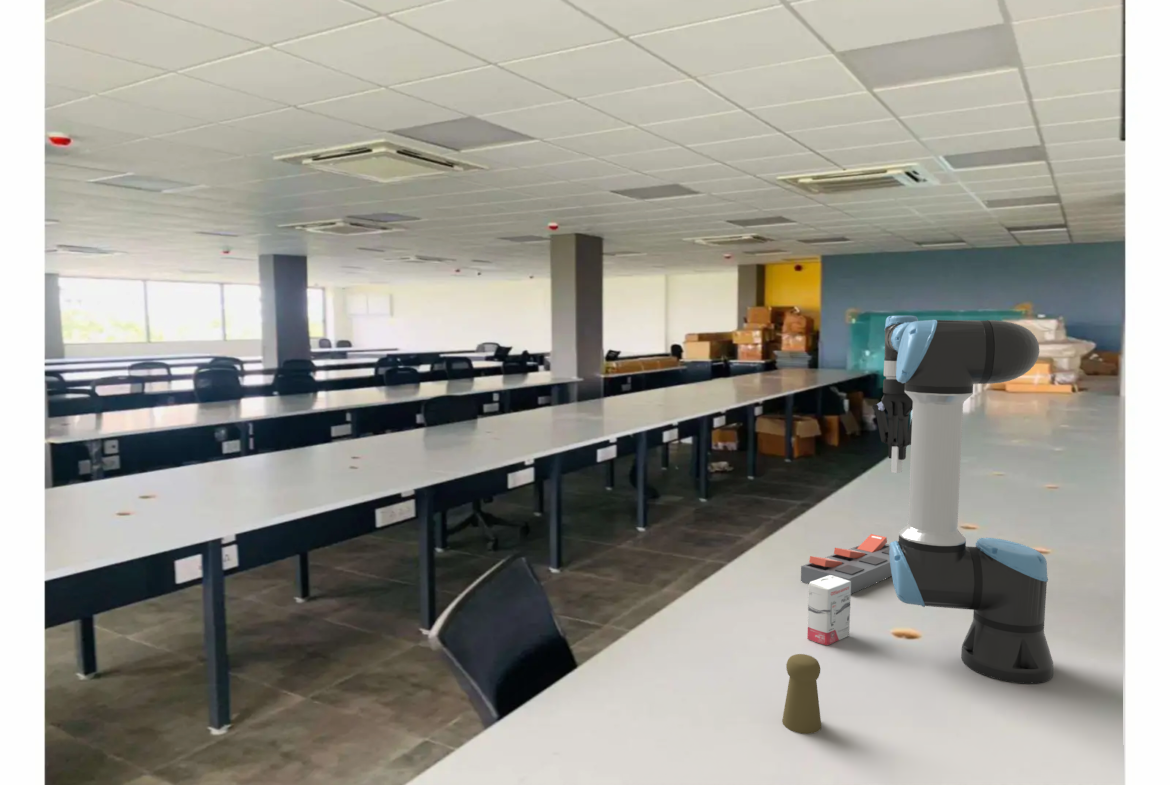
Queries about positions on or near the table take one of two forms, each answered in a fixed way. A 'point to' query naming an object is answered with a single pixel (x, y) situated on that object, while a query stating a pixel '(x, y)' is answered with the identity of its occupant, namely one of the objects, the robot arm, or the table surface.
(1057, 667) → the table surface
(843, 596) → the ink box
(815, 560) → the rocker
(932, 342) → the robot arm
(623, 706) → the table surface
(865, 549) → the rocker
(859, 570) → the power strip
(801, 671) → the olive brown peg figure
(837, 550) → the rocker
